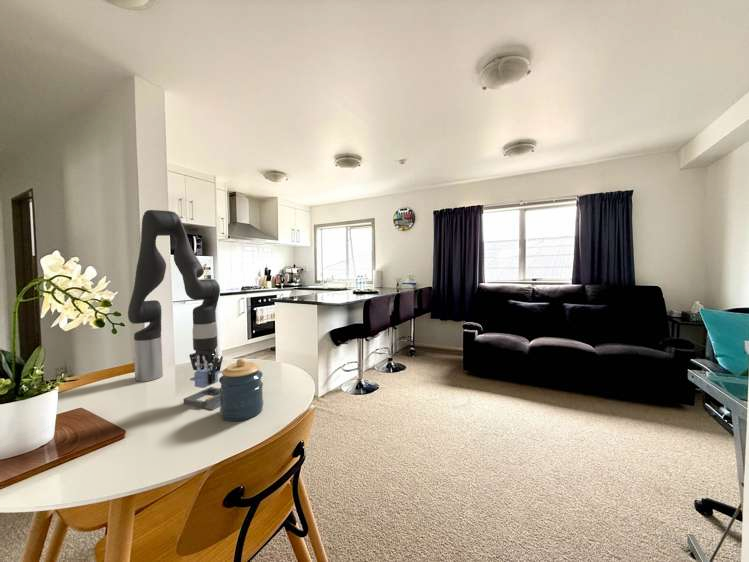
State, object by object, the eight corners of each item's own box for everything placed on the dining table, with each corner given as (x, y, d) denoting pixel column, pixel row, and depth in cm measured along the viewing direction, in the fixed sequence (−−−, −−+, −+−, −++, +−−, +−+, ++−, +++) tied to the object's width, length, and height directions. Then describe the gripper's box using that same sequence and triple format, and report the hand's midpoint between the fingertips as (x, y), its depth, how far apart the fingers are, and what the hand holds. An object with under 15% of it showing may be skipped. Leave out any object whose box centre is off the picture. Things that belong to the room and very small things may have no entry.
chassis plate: (183, 403, 104) (183, 397, 104) (211, 391, 115) (210, 385, 114) (212, 410, 100) (212, 403, 99) (238, 396, 110) (238, 390, 110)
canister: (215, 425, 90) (213, 367, 89) (224, 405, 103) (223, 354, 102) (261, 418, 94) (260, 363, 93) (265, 400, 106) (263, 351, 105)
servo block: (190, 388, 104) (189, 372, 103) (214, 378, 112) (213, 363, 112) (198, 390, 102) (197, 373, 102) (222, 380, 111) (221, 364, 111)
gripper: (180, 336, 106) (182, 384, 106) (210, 339, 100) (212, 389, 101) (200, 331, 113) (201, 376, 113) (228, 334, 108) (230, 381, 108)
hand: (206, 382), depth 107 cm, fingers closed on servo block, 4 cm apart
